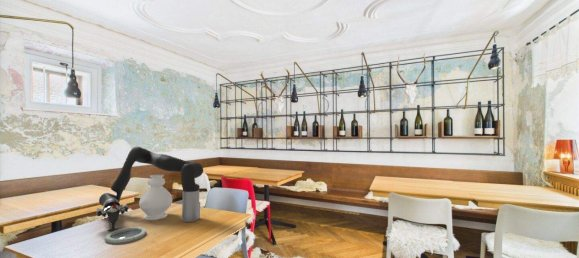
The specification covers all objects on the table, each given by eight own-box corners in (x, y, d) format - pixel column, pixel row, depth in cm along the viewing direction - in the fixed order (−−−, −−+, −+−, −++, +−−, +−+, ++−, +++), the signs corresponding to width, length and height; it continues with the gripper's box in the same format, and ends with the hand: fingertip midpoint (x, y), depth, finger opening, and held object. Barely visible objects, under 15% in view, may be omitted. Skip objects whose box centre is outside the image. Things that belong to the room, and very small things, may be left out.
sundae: (112, 233, 124) (113, 203, 125) (101, 231, 126) (102, 202, 126) (123, 228, 131) (124, 199, 131) (113, 227, 132) (114, 199, 132)
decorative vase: (152, 211, 160) (153, 172, 161) (177, 212, 157) (178, 173, 158) (131, 220, 142) (132, 177, 143) (159, 222, 140) (160, 178, 140)
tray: (130, 227, 131) (130, 224, 131) (154, 232, 125) (154, 229, 125) (95, 240, 115) (96, 236, 116) (121, 246, 109) (121, 242, 109)
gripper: (95, 201, 135) (96, 208, 122) (127, 197, 144) (130, 204, 131) (95, 215, 135) (95, 224, 122) (126, 210, 144) (130, 218, 131)
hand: (113, 213), depth 127 cm, fingers closed on sundae, 6 cm apart
